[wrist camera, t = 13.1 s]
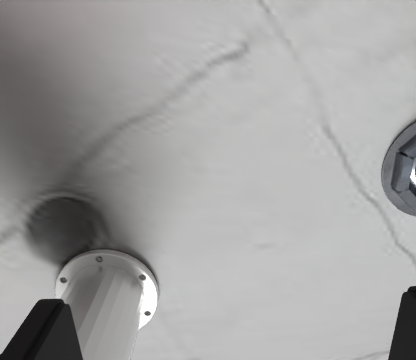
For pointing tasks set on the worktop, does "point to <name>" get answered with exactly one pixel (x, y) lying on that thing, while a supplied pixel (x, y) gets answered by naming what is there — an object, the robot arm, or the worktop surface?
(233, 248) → the worktop surface
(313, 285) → the worktop surface
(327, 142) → the worktop surface
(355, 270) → the worktop surface
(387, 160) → the faceted metallic bowl
